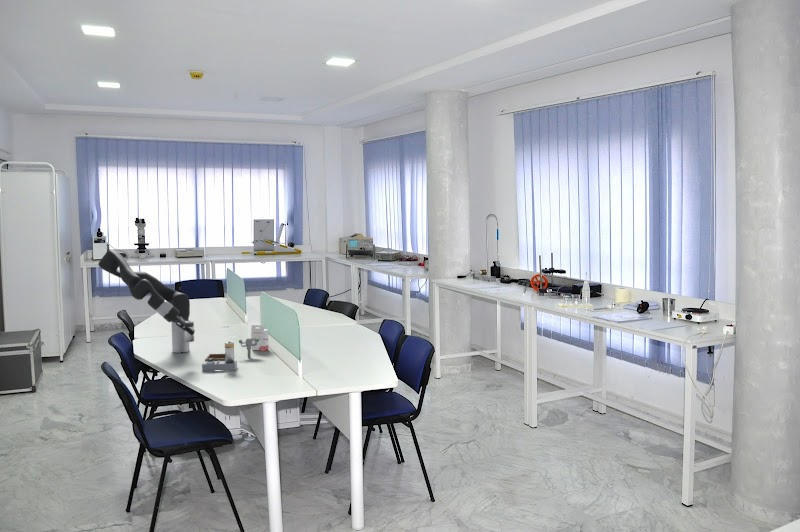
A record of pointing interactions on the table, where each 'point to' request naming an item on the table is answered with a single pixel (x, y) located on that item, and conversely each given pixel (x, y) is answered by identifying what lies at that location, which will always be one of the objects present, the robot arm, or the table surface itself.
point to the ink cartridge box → (260, 337)
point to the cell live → (229, 352)
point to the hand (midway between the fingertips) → (193, 332)
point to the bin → (216, 357)
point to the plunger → (210, 361)
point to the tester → (219, 366)
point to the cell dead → (187, 336)
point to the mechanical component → (249, 344)
